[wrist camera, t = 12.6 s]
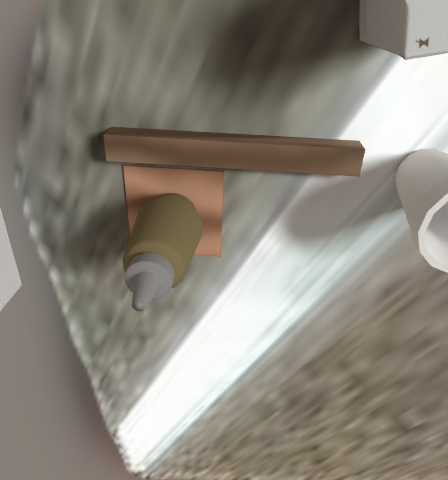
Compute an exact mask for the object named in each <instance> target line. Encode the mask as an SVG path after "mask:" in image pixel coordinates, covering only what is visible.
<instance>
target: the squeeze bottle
mask: <svg viewBox="0 0 448 480" xmlns="http://www.w3.org/2000/svg"><path fill="white" fill-rule="evenodd" d="M202 234H203V230H202V221H201V219H200V216H199V214H198V212H197V210H196V208H195V206H194V204H193V203H192V202H191V201H190V200H189V199H188V198H187V197H185V196H183V195H180V194H178V193H167V194H164V195H162V196H159V197H157V198H155V199H152V200H150V201H147V202H146V203H145V204H144V205H143V207H142V208H141V209H140V210H139V212H138V215H137V218H136V221H135V224H134V227H133V230H132V233H131V236H130V239H129V242H128V245H127V248H126V251H125V254H124V257H123V264H124V270H125V272H126V273H125V282H126V285H127V286H128V288H129V289H130V291H131V292H133V298H132V307H133V309H135V310H137V311H142V310H144V309H145V308H146V306H147V305H148V304H149V302H150V301H151V300H152V299H154V300H156V299H159V298H162V297H164V296H165V295H166V294H168V293H169V292H170V289H171V288H174V287H175V286H176V285H178V284H179V283H180V282H181V281H182V279H183V277H184V275H185V273H186V270H187V268H188V266H189V264H190V261H191V259H192V257H193V255H194V253H195V250H196V248H197V246H198V244H199V241H200V239H201V237H202Z"/></svg>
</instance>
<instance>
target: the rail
mask: <svg viewBox="0 0 448 480" xmlns="http://www.w3.org/2000/svg"><path fill="white" fill-rule="evenodd" d="M103 137H104V145H105V154H106V161H113V162H130V163H146V164H163V165H179V166H196V167H212V168H229V169H245V170H262V171H278V172H295V173H311V174H328V175H344V176H359V175H360V171H361V166H362V162H363V157H364V153H365V149H364V147H363V146H362V144H361V143H360V141H351V140H333V139H316V138H298V137H280V136H263V135H245V134H227V133H210V132H192V131H175V130H157V129H139V128H122V127H111V128H110V129H109V130H108V131H107V132H106V133H104V134H103ZM123 168H124V178H125V189H126V199H127V209H128V219H129V230H130V236H131V233H132V230H133V227H134V224H135V221H136V218H137V215H138V212H139V210H140V209H141V208H142V207H143V205H144V204H145V203H146V202H147V201H150V200H152V199H155V198H157V197H159V196H162V195H164V194H167V193H178V194H180V195H183V196H185V197H187V198H188V199H189V200H190V201H191V202H192V203H193V204H194V206H195V208H196V210H197V212H198V214H199V216H200V219H201V221H202V230H203V234H202V237H201V239H200V241H199V244H198V246H197V248H196V250H195V253H194V255H204V256H219V257H220V255H221V228H222V201H223V173H224V171H217V170H201V169H184V168H168V167H151V166H135V165H123Z"/></svg>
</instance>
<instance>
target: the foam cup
mask: <svg viewBox="0 0 448 480" xmlns="http://www.w3.org/2000/svg"><path fill="white" fill-rule="evenodd" d="M395 184H396V188H397V192H398V195H399V198H400V201H401V203H402V206H403V209H404V212H405V215H406V218H407V221H408V223H409V226H410V229H411V238H412V240H413V242H414V243H415V245H416V247H417V248H418V250H419V251H420V253H421V254H422V255H423V256H424V258H425V259H426V260H427V261H428V263H429V264H430V265H431V266H432V267H435V268H437V269H440V270H442V271H445V272H448V154H447V153H445V152H442V151H440V150H437V149H435V148H431V149H420V150H418V151H416V152H414V153H412V154H409V155H408V156H407V157H406V158H405V159H404V160H403V161H402V162H401V163H400V164H399V166H398V169H397V171H396V174H395Z"/></svg>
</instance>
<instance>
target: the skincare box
mask: <svg viewBox="0 0 448 480" xmlns="http://www.w3.org/2000/svg"><path fill="white" fill-rule="evenodd" d="M359 30H360V40H361V41H362V42H365V43H368V44H371V45H373V46H376V47H378V48H381V49H384V50H386V51H389V52H391V53H394V54H397V55H399V56H401V57H403V59H405V60H407V59H413V58H420V57H426V56H432V55H438V54H444V53H448V0H360V10H359Z"/></svg>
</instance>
